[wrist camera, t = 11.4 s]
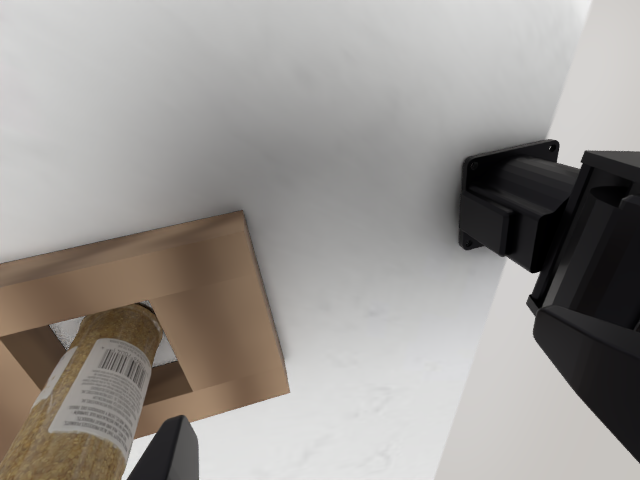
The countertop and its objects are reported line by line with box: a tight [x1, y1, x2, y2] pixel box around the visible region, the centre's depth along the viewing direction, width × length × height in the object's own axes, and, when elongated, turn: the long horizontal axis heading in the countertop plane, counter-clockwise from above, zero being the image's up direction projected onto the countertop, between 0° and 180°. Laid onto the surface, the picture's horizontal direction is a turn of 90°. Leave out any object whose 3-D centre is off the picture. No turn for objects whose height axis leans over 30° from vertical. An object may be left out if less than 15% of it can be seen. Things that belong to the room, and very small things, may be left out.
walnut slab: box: [0, 210, 290, 463], centre depth 19 cm, size 18×12×3 cm, turn 99°
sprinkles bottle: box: [0, 304, 163, 480], centre depth 15 cm, size 5×5×14 cm
